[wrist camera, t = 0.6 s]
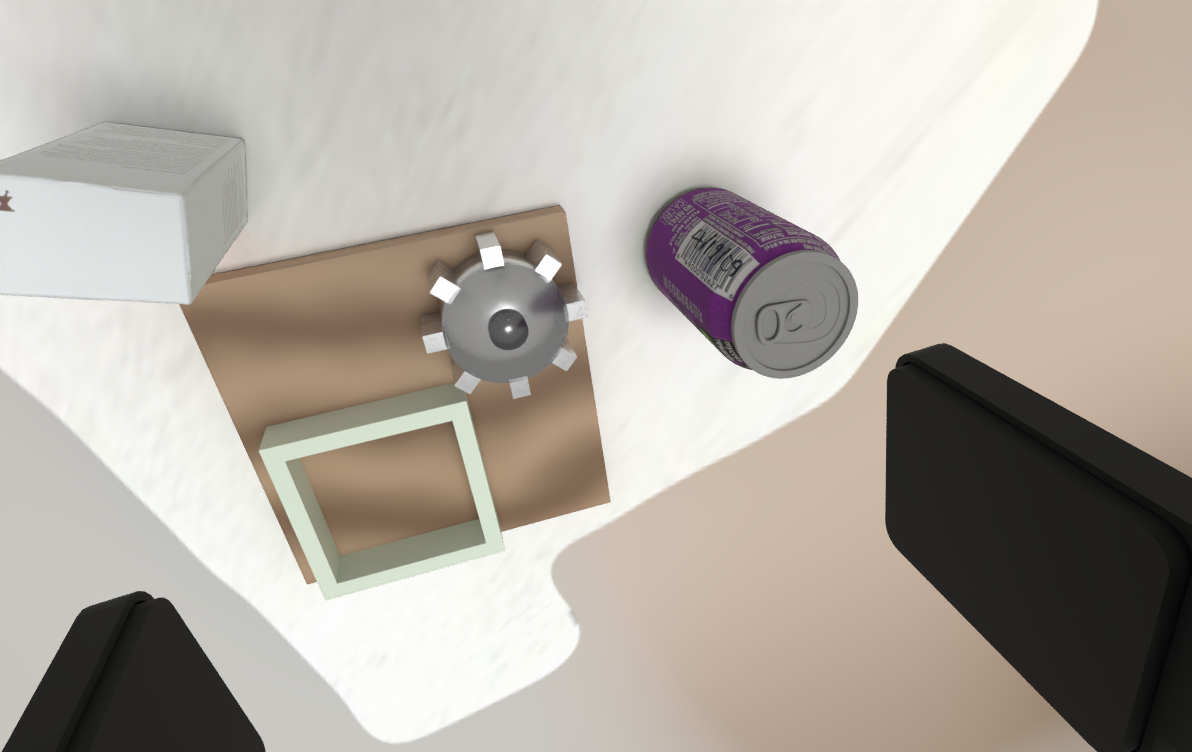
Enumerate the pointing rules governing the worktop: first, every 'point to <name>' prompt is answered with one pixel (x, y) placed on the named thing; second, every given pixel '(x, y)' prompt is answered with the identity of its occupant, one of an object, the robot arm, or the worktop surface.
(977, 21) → the worktop surface
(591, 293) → the worktop surface
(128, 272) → the skincare box
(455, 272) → the sun gear
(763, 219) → the beverage can
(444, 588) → the worktop surface
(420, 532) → the carrier plate
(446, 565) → the green square frame
